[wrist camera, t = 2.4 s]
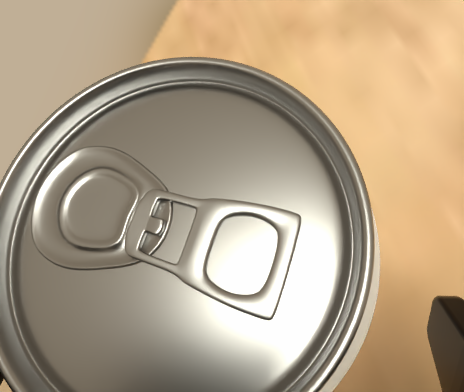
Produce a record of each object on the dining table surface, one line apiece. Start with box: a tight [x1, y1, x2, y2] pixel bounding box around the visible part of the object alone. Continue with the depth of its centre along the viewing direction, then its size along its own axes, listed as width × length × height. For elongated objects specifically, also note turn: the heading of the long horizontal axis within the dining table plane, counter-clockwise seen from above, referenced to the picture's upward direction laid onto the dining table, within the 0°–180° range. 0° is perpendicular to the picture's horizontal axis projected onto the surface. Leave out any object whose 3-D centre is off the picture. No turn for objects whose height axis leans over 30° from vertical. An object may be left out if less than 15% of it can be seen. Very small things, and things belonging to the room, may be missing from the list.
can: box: [0, 57, 380, 392], centre depth 11 cm, size 6×6×12 cm
